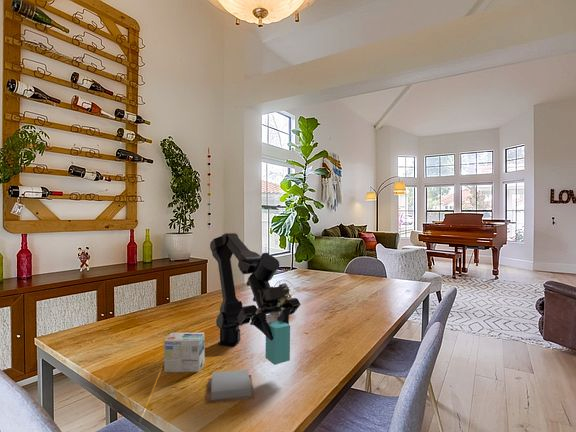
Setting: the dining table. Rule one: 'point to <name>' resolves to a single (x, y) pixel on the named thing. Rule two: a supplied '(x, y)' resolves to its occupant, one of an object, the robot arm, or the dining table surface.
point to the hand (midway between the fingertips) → (280, 337)
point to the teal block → (278, 342)
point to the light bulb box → (184, 352)
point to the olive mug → (280, 304)
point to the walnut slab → (227, 398)
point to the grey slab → (230, 384)
